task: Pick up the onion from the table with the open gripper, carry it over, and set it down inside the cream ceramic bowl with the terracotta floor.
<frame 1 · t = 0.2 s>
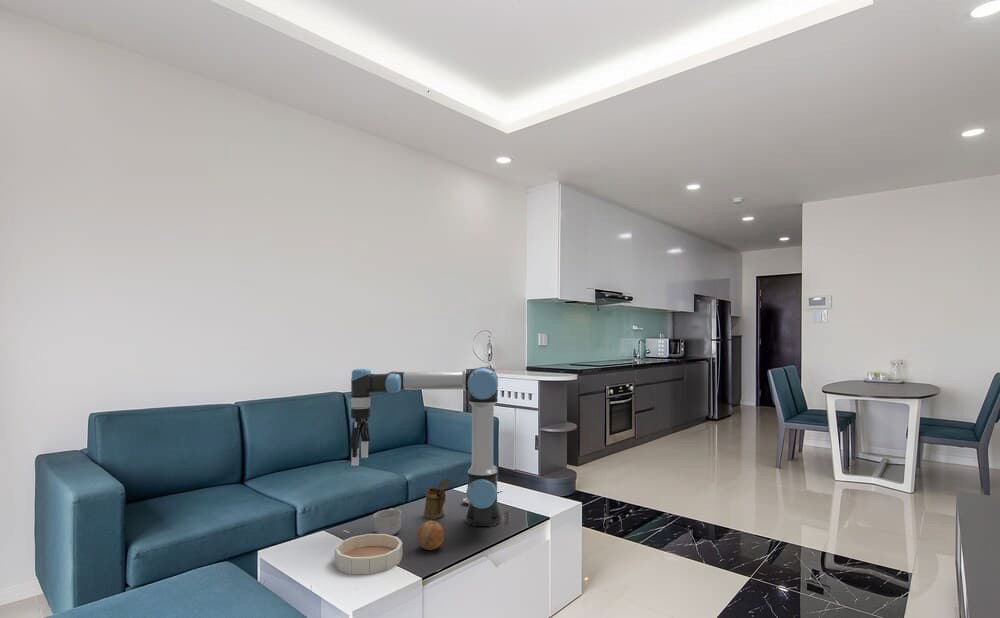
hand: (359, 461, 211), 28 cm above the table, fingers open, 13 cm apart
wooden mug: (437, 517, 228), on the table
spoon: (486, 498, 258), on the table
teacup: (388, 532, 210), on the table
onion: (430, 549, 193), on the table
bowl: (368, 560, 183), on the table
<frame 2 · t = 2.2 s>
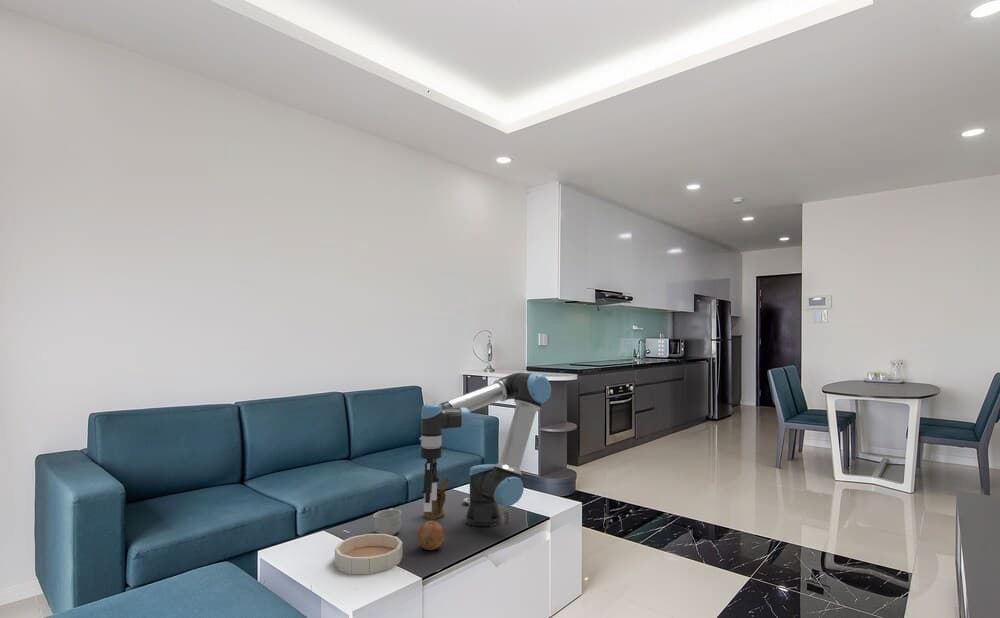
hand: (430, 505, 194), 15 cm above the table, fingers open, 13 cm apart
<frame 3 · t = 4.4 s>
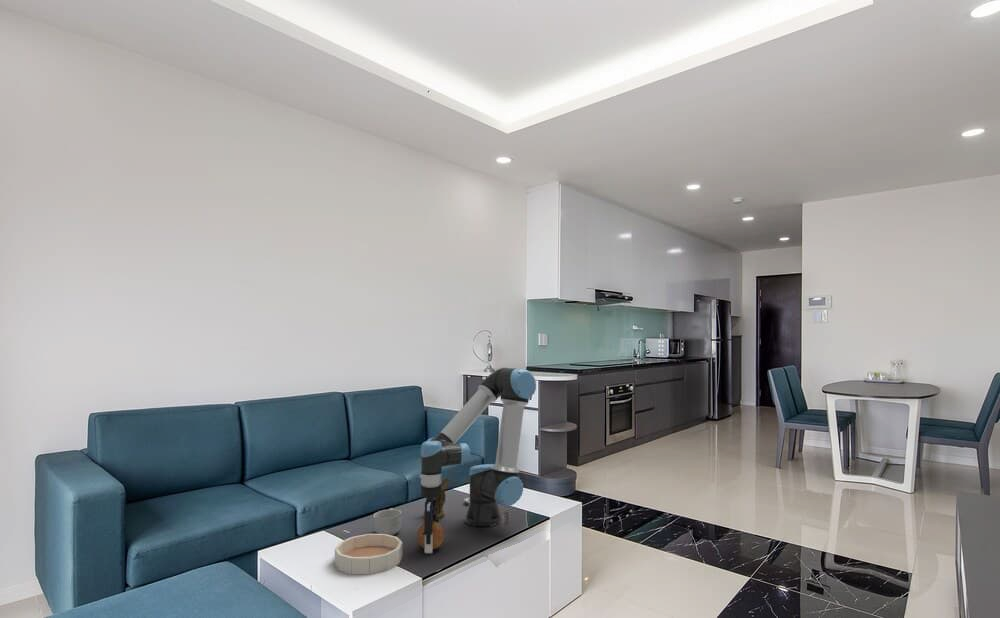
hand: (430, 546, 193), 1 cm above the table, fingers closed on onion, 10 cm apart
onion: (430, 549, 193), on the table, touching gripper
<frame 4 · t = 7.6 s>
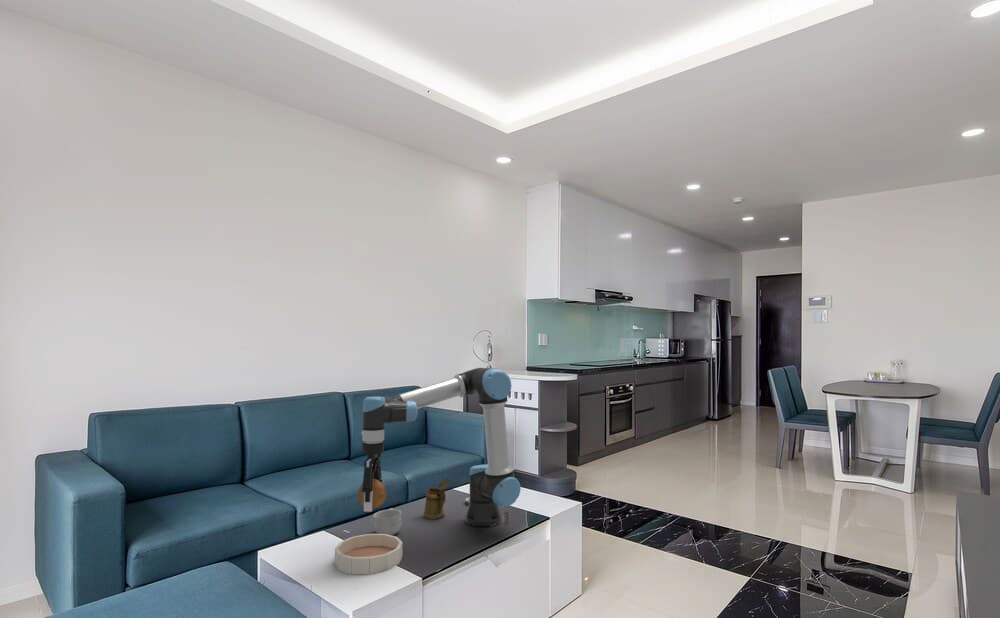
hand: (371, 506, 184), 18 cm above the table, fingers closed on onion, 10 cm apart
onion: (371, 509, 184), point 17 cm above the table, touching gripper
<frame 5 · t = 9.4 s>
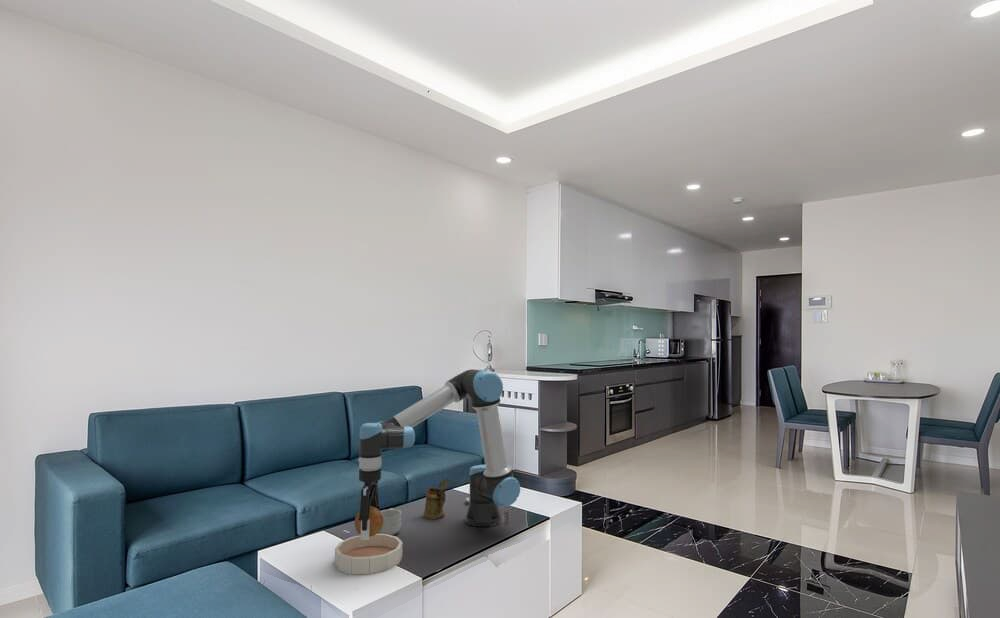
hand: (368, 533, 184), 9 cm above the table, fingers closed on onion, 10 cm apart
onion: (368, 536, 184), point 8 cm above the table, touching gripper
when the fingers open (4 cm above the table, at t = 11.0 s): onion drops 2 cm, resting on bowl.
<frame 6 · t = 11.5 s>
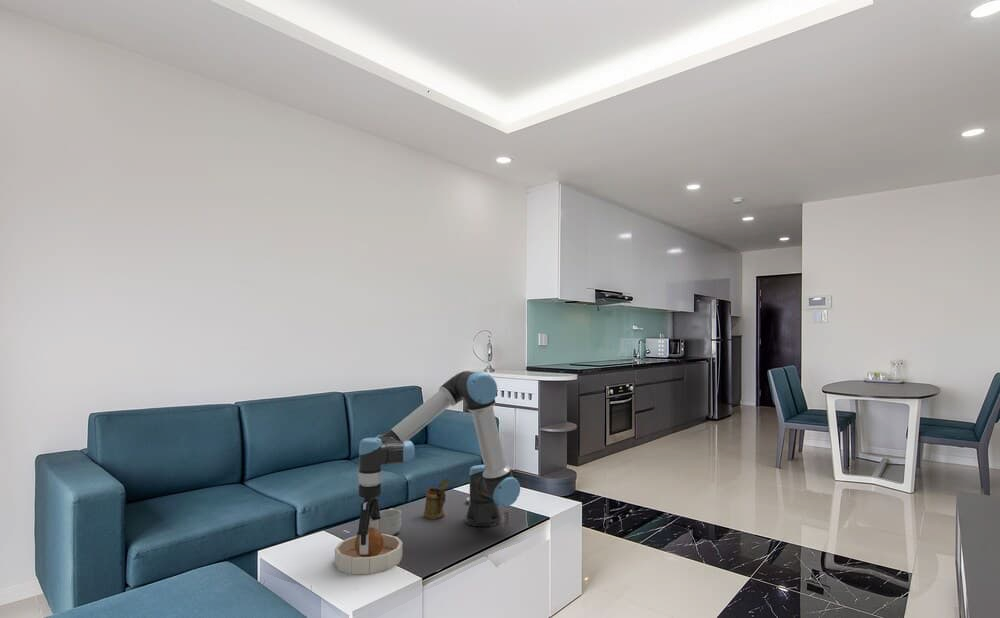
hand: (369, 546, 183), 5 cm above the table, fingers open, 13 cm apart
onion: (369, 557, 183), point 1 cm above the table, touching bowl
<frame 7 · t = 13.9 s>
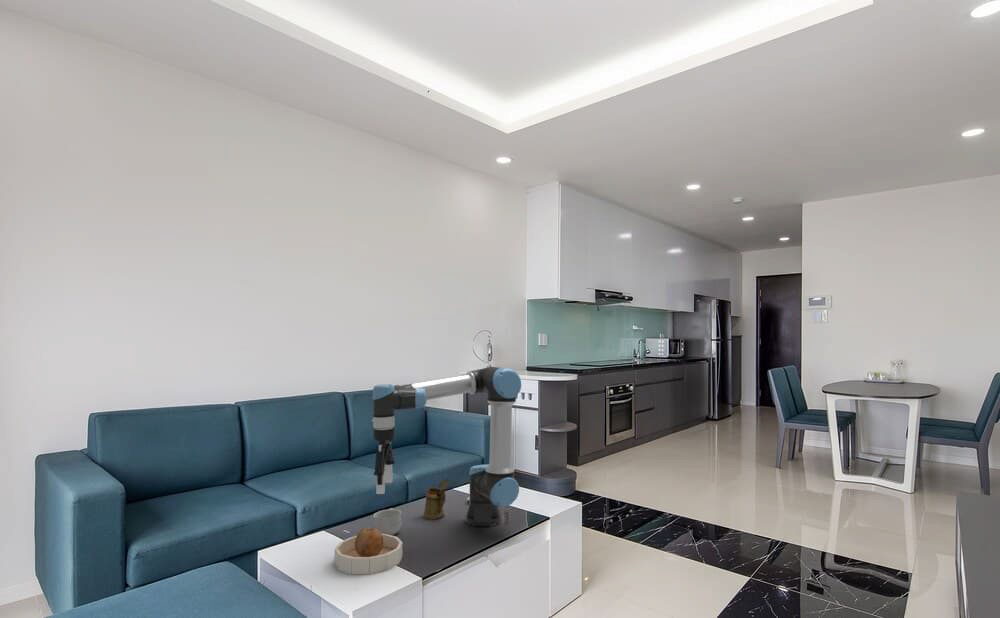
hand: (384, 488, 190), 23 cm above the table, fingers open, 13 cm apart
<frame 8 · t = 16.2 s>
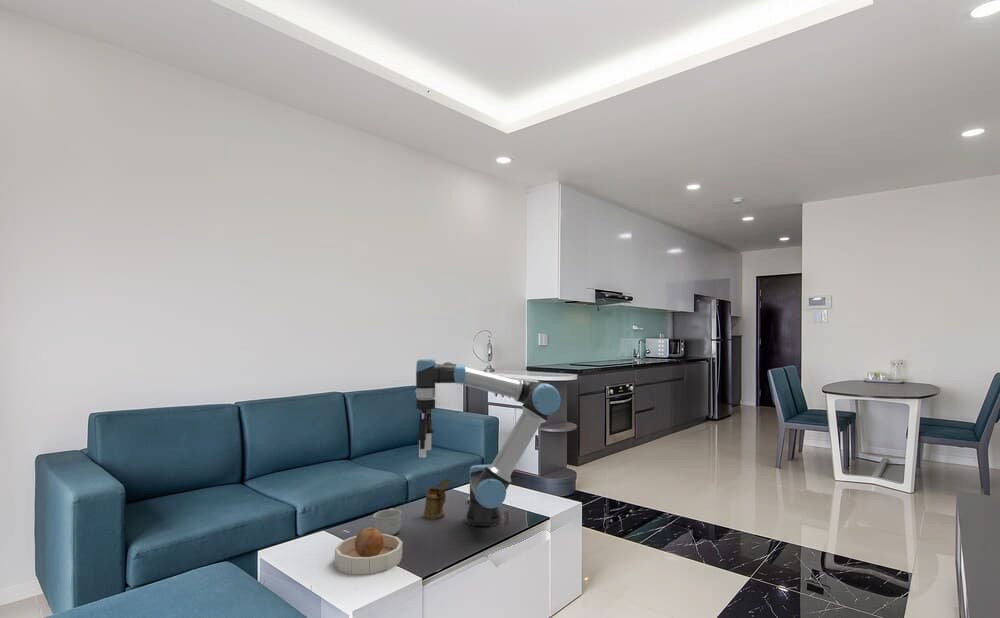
hand: (425, 453, 207), 32 cm above the table, fingers open, 13 cm apart
at the end: onion inside the target area on the bowl (0.0 cm from its centre), point 0.8 cm above the bowl's base; onion touching bowl; the gripper is holding nothing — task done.
